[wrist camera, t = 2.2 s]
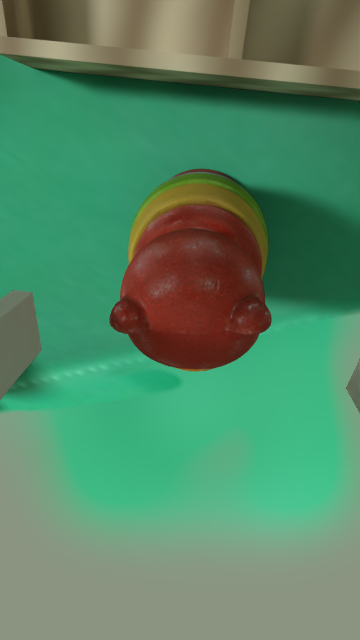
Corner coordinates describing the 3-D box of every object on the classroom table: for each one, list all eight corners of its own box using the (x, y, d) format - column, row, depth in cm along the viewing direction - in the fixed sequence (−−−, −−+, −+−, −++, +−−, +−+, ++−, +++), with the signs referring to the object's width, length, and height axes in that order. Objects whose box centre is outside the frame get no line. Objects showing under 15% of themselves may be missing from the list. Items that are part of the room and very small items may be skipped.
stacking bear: (139, 277, 30) (67, 419, 15) (138, 160, 25) (28, 191, 10) (250, 287, 30) (297, 443, 14) (273, 170, 25) (382, 218, 9)
